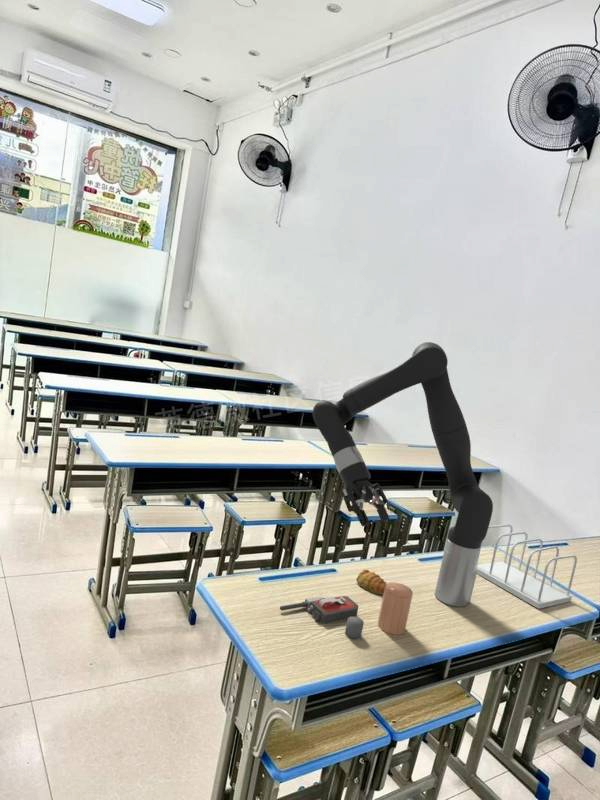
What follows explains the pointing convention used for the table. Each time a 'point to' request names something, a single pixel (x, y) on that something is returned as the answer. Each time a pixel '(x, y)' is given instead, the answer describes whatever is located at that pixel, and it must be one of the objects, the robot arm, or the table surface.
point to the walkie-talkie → (328, 608)
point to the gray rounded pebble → (354, 628)
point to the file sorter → (525, 575)
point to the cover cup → (395, 608)
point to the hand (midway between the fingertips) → (376, 523)
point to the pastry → (371, 582)
